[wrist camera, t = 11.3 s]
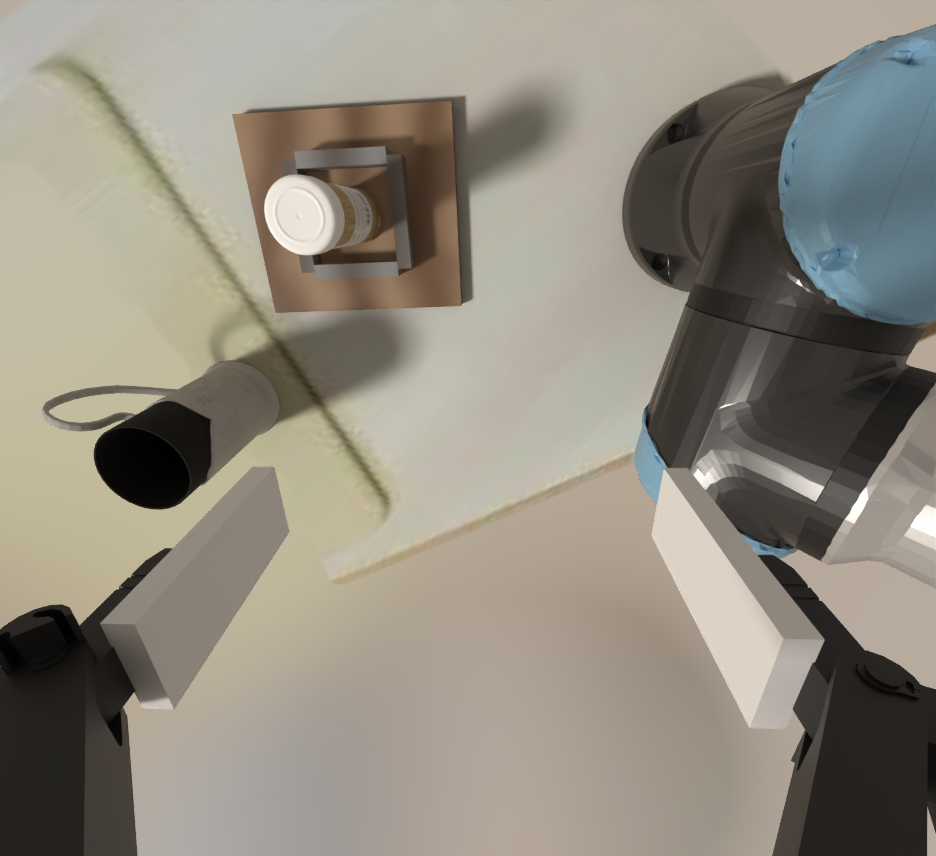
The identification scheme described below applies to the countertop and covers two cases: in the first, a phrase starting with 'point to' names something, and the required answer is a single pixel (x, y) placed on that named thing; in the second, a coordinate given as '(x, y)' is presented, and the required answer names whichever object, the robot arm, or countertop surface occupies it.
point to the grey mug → (178, 432)
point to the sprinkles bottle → (319, 215)
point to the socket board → (386, 179)
